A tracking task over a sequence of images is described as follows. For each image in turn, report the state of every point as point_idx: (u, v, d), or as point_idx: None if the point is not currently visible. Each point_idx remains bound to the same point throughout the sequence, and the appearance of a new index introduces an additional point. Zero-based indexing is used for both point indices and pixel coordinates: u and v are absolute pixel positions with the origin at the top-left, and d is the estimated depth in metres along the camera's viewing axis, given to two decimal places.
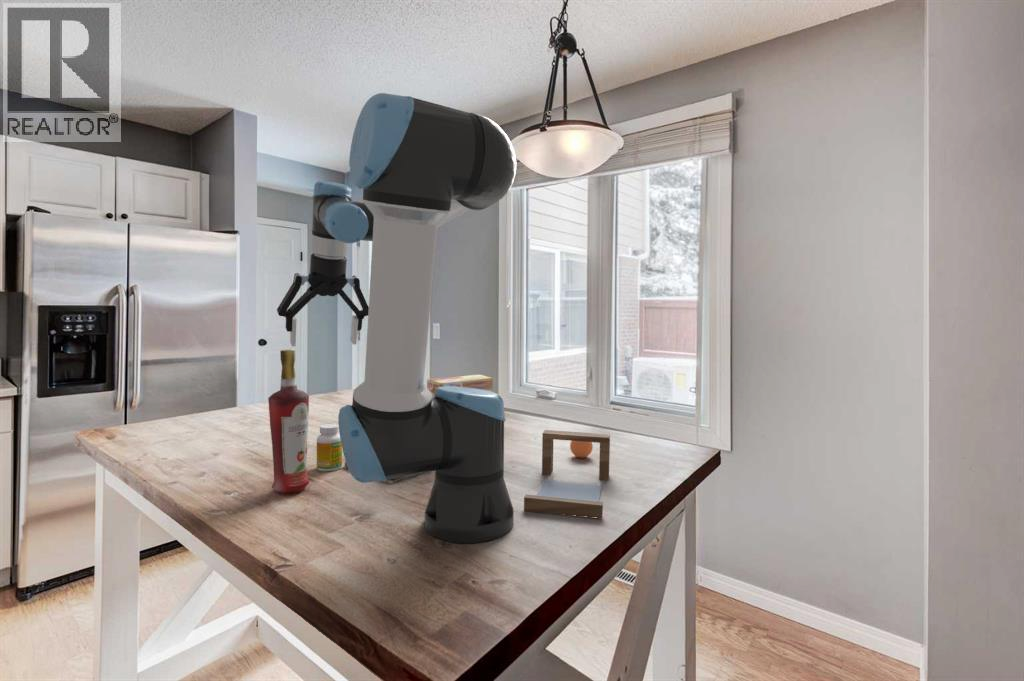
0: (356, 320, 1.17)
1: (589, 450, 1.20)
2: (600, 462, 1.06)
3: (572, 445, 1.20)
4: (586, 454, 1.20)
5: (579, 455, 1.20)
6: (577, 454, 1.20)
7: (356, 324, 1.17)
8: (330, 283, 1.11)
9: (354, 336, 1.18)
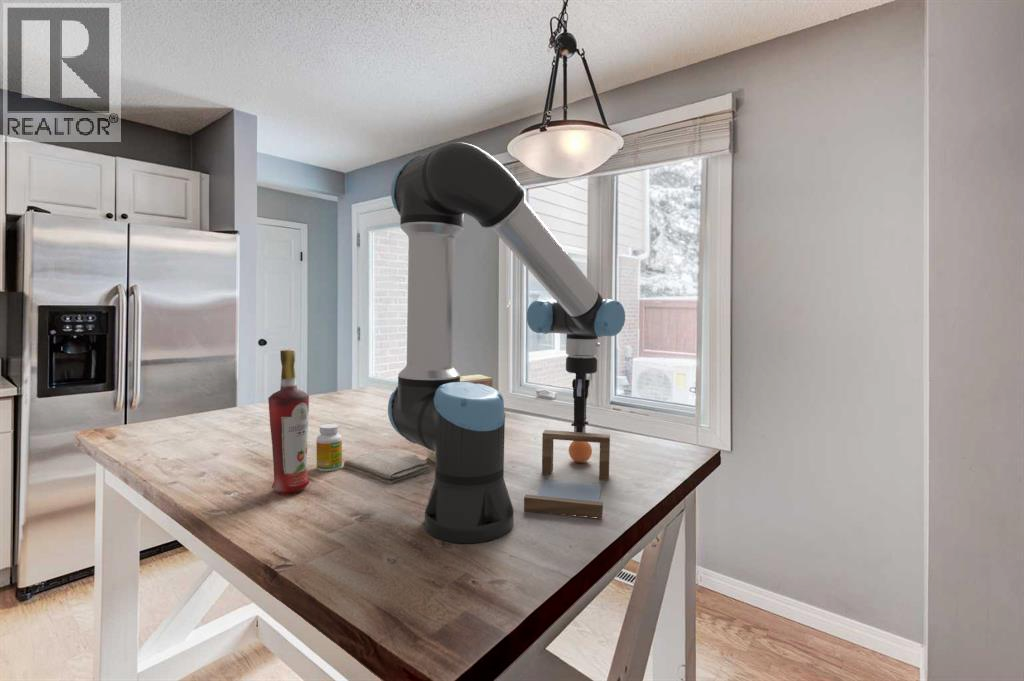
0: None
1: (588, 458, 1.17)
2: (600, 462, 1.06)
3: (571, 455, 1.17)
4: None
5: None
6: (576, 461, 1.18)
7: None
8: None
9: None
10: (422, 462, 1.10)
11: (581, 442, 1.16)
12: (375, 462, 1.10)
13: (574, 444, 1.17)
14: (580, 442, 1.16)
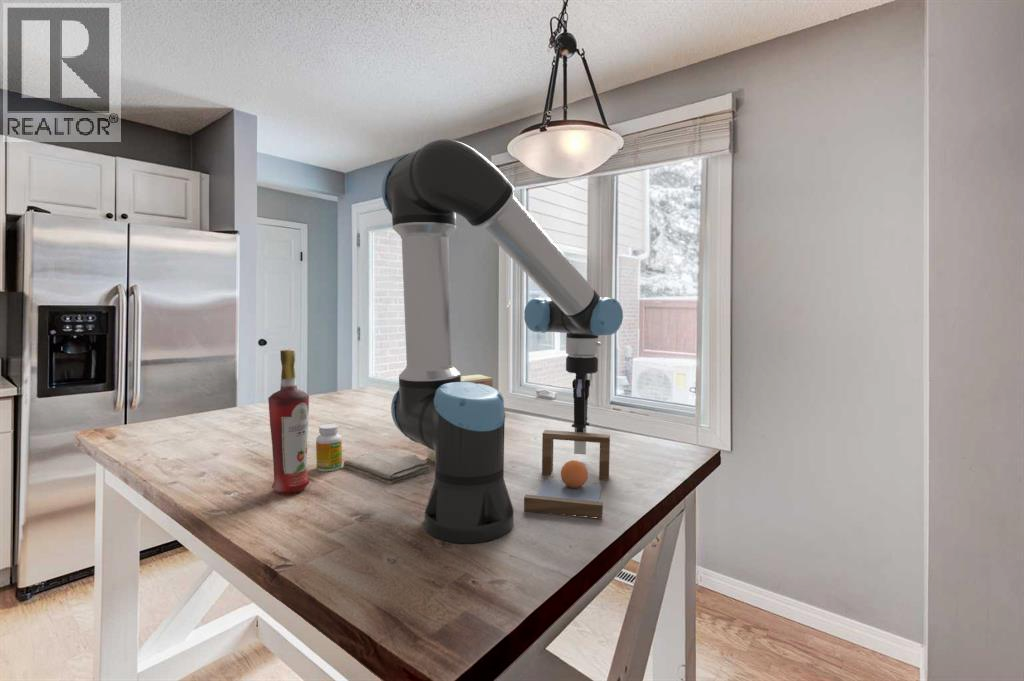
0: None
1: (583, 482, 1.00)
2: (600, 462, 1.06)
3: (563, 476, 1.00)
4: (580, 486, 1.00)
5: (572, 487, 1.00)
6: (569, 486, 1.00)
7: None
8: None
9: None
10: (422, 462, 1.10)
11: (575, 462, 1.01)
12: (375, 462, 1.10)
13: (567, 463, 1.01)
14: (575, 461, 1.01)
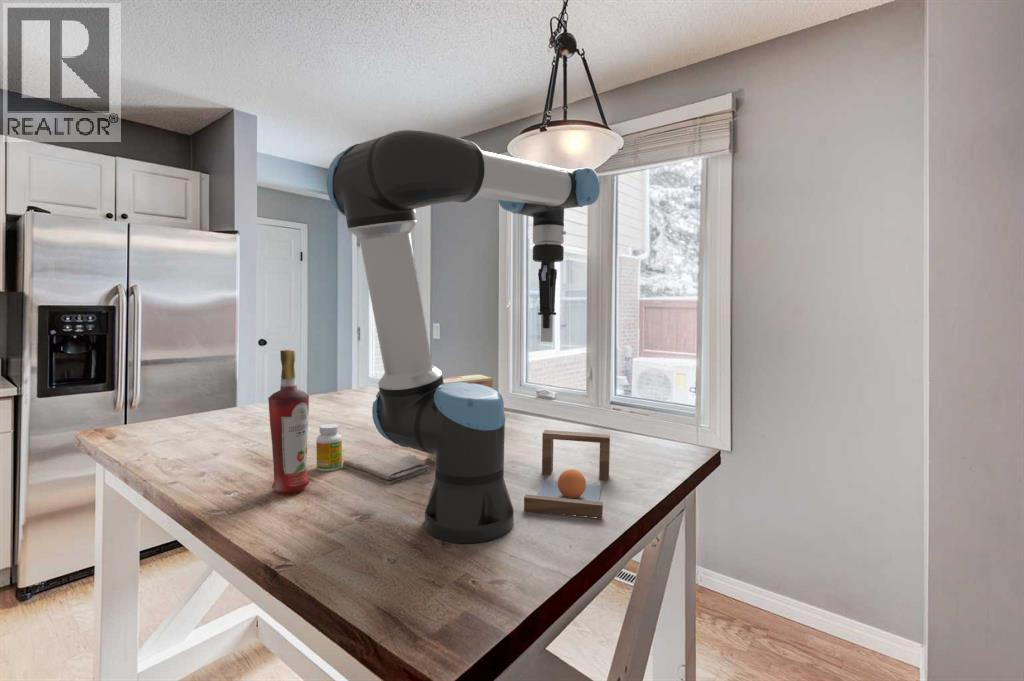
0: None
1: None
2: (600, 462, 1.06)
3: None
4: None
5: None
6: None
7: None
8: None
9: None
10: (421, 463, 1.10)
11: (572, 496, 0.94)
12: (374, 462, 1.10)
13: (564, 495, 0.95)
14: (571, 496, 0.94)
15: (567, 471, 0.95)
